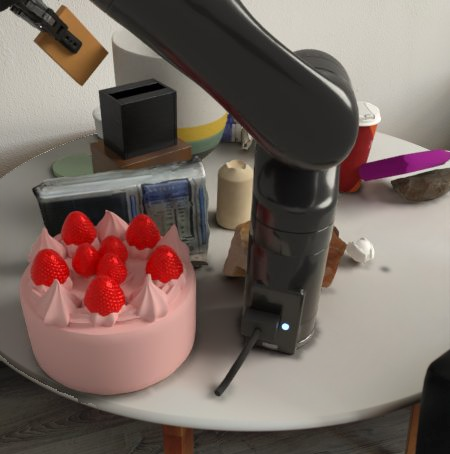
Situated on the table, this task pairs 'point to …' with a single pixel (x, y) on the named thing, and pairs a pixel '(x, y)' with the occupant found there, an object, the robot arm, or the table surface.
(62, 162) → the plate
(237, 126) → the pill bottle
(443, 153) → the purple angular slab
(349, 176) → the paper cup
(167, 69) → the planter
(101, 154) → the riser
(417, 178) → the rock
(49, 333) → the cake
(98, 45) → the toast
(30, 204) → the table surface
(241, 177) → the candle
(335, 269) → the stone
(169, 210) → the radio
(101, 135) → the ramekin
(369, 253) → the garlic
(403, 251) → the table surface
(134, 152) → the toaster
